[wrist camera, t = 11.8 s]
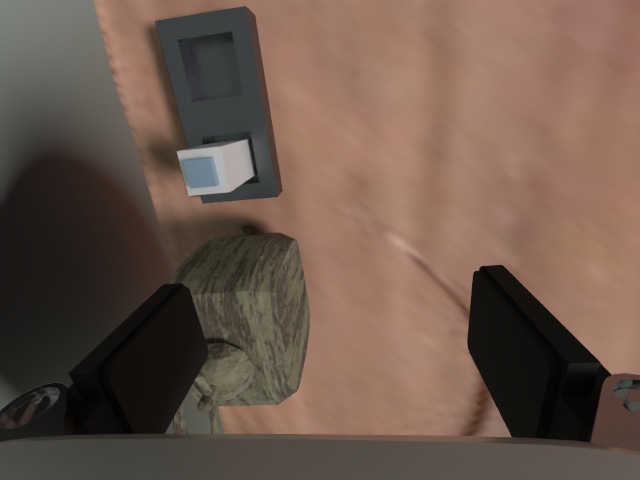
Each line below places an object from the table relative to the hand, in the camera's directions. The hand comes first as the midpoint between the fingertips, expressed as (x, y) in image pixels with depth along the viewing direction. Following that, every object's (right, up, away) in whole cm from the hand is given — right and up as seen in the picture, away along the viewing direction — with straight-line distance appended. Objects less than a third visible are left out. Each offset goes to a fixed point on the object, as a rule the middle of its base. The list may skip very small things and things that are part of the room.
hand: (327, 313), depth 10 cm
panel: (-10, +16, +25) cm, 32 cm away
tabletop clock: (-6, -1, +32) cm, 32 cm away
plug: (-10, +12, +26) cm, 30 cm away
